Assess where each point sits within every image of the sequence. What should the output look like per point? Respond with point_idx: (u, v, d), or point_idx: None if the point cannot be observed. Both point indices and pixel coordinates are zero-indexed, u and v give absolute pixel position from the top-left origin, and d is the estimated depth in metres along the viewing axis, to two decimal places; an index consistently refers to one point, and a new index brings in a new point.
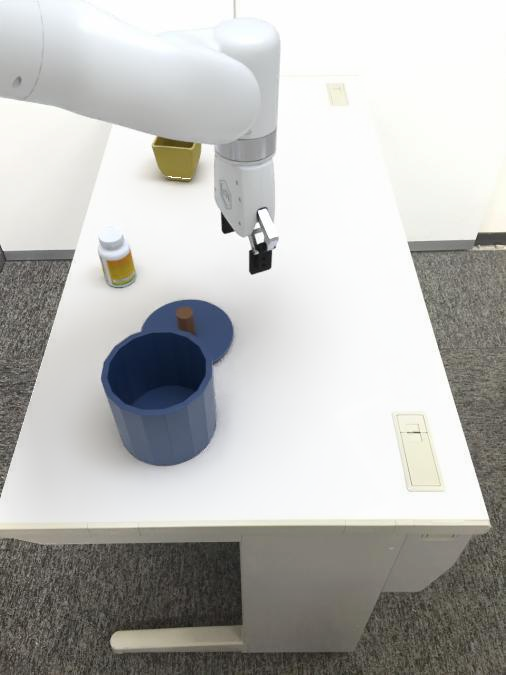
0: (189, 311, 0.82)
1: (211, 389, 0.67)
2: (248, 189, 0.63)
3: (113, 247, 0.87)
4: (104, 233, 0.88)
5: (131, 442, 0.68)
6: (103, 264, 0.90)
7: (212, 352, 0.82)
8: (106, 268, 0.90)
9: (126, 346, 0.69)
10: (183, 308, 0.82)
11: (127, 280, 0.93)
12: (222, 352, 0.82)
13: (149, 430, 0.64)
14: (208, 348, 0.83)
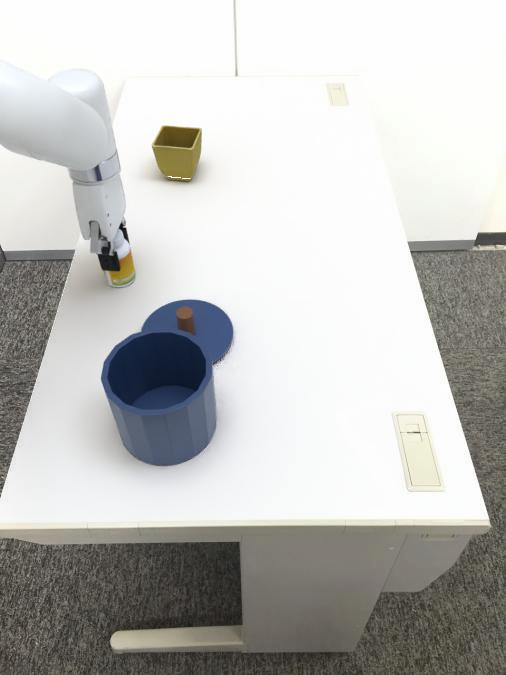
0: (189, 311, 0.82)
1: (211, 389, 0.67)
2: (78, 202, 0.78)
3: None
4: None
5: (131, 442, 0.68)
6: None
7: (212, 352, 0.82)
8: None
9: (126, 346, 0.69)
10: (183, 308, 0.82)
11: (127, 280, 0.93)
12: (222, 352, 0.82)
13: (149, 430, 0.64)
14: (208, 348, 0.83)
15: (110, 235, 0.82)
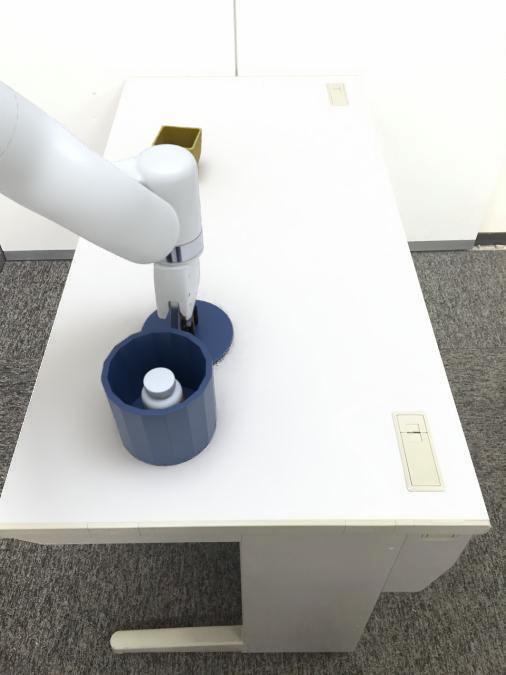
0: None
1: (211, 389, 0.67)
2: (158, 283, 0.71)
3: (163, 396, 0.67)
4: (151, 376, 0.68)
5: (131, 442, 0.68)
6: None
7: (212, 352, 0.82)
8: None
9: (126, 346, 0.69)
10: None
11: None
12: (222, 352, 0.82)
13: (149, 430, 0.64)
14: (208, 348, 0.83)
15: (189, 314, 0.75)
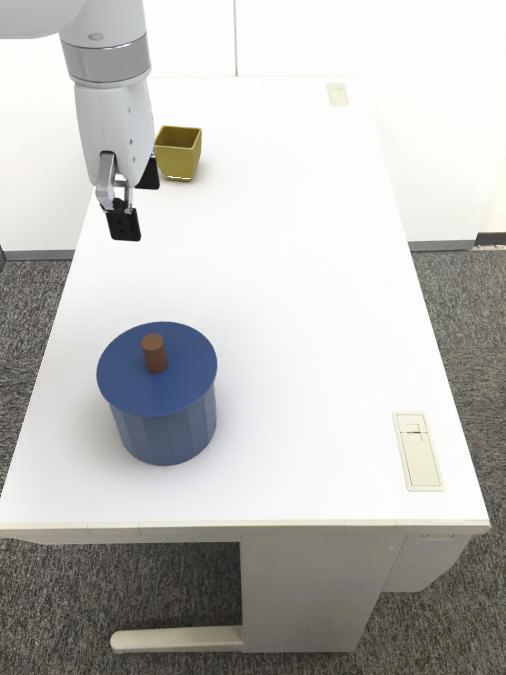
0: (158, 340, 0.62)
1: (211, 389, 0.67)
2: (83, 118, 0.48)
3: None
4: None
5: (131, 442, 0.68)
6: None
7: (189, 393, 0.63)
8: None
9: None
10: (151, 336, 0.63)
11: None
12: (202, 393, 0.63)
13: (149, 430, 0.64)
14: (184, 388, 0.63)
15: (133, 177, 0.52)
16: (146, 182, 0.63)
